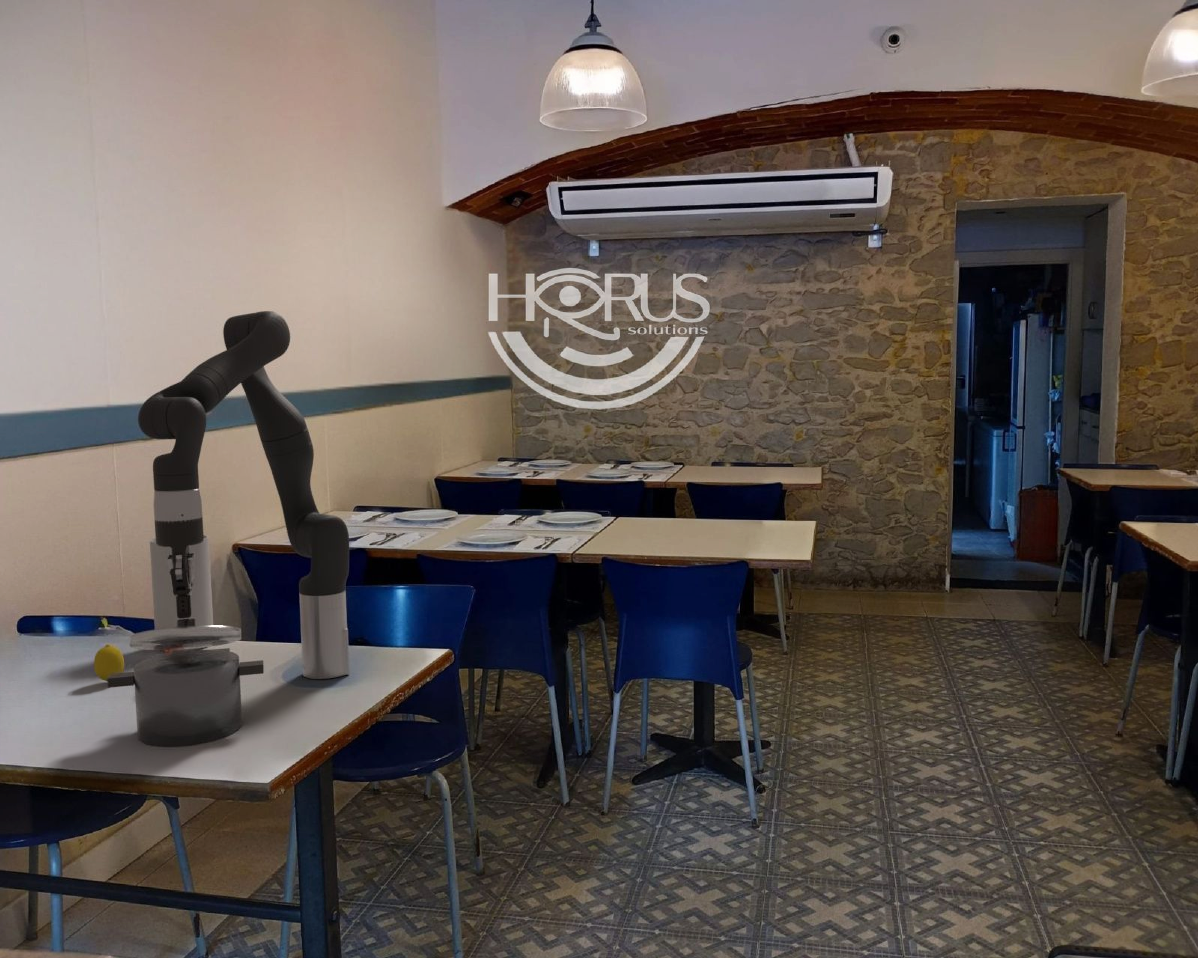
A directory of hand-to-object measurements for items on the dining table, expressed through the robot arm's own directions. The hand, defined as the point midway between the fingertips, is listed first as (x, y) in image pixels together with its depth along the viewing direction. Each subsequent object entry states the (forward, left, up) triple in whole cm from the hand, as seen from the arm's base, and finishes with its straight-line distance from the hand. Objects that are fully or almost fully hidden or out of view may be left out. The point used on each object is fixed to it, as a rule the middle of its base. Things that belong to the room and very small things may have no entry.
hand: (184, 616), depth 176 cm
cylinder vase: (+6, -66, -21) cm, 70 cm away
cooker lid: (0, -4, -5) cm, 7 cm away
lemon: (+18, -39, -21) cm, 48 cm away
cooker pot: (0, -3, -21) cm, 21 cm away
